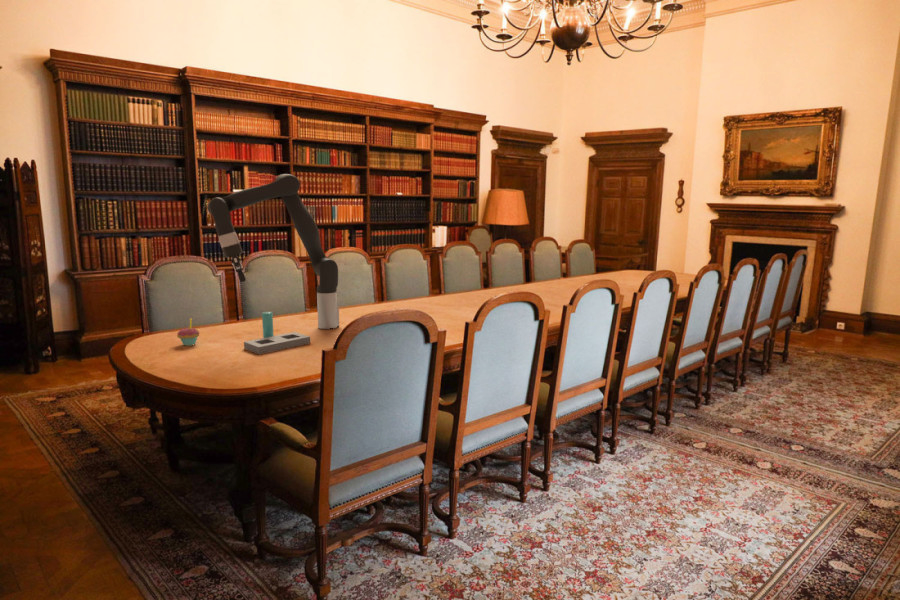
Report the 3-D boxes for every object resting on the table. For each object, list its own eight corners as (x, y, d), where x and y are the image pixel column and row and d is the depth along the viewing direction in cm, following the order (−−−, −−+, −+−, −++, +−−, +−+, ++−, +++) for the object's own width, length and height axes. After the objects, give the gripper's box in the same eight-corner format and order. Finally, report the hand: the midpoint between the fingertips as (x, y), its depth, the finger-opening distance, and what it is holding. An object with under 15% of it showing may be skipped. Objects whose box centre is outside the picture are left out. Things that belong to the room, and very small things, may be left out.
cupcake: (203, 342, 248) (201, 315, 245) (193, 347, 239) (191, 319, 237) (184, 341, 248) (182, 314, 246) (173, 346, 240) (171, 318, 238)
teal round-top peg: (270, 337, 256) (269, 311, 254) (275, 339, 253) (274, 312, 251) (261, 339, 253) (259, 312, 251) (266, 341, 250) (265, 314, 248)
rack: (295, 338, 255) (294, 331, 254) (310, 343, 247) (310, 336, 246) (244, 348, 238) (243, 341, 237) (258, 354, 230) (258, 347, 229)
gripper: (239, 241, 238) (252, 279, 240) (239, 242, 251) (251, 277, 254) (220, 247, 235) (234, 284, 238) (222, 247, 249) (234, 283, 252)
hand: (243, 281), depth 246 cm, fingers open, 8 cm apart
